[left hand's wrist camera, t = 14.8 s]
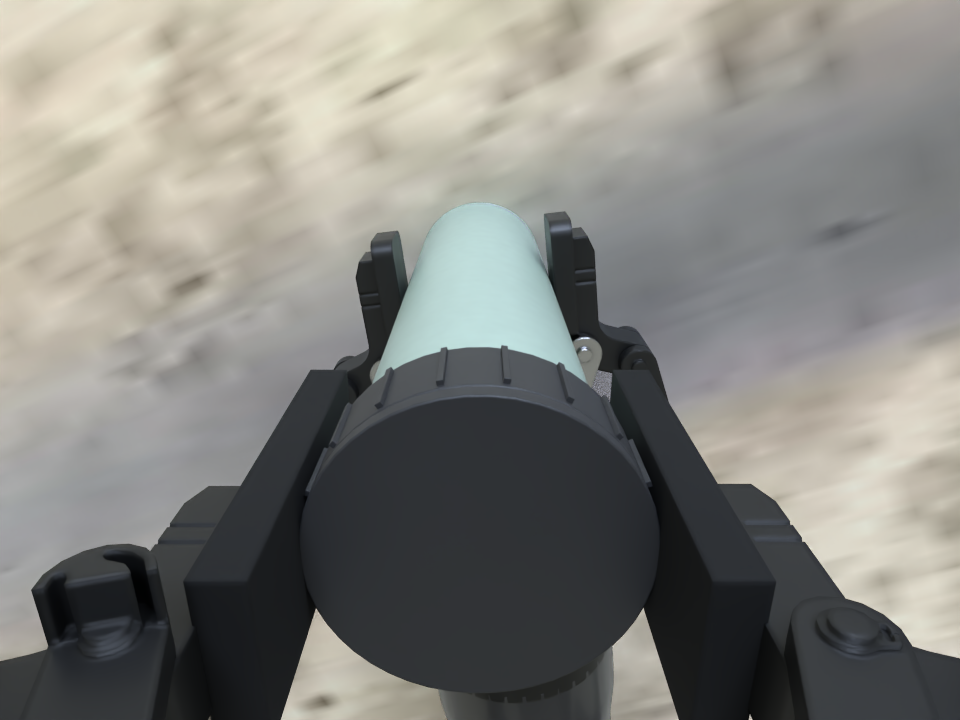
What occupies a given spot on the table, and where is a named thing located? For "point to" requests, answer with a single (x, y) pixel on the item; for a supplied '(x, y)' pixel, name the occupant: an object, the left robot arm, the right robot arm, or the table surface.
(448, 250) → the mint green bottle
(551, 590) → the lid
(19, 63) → the table surface
